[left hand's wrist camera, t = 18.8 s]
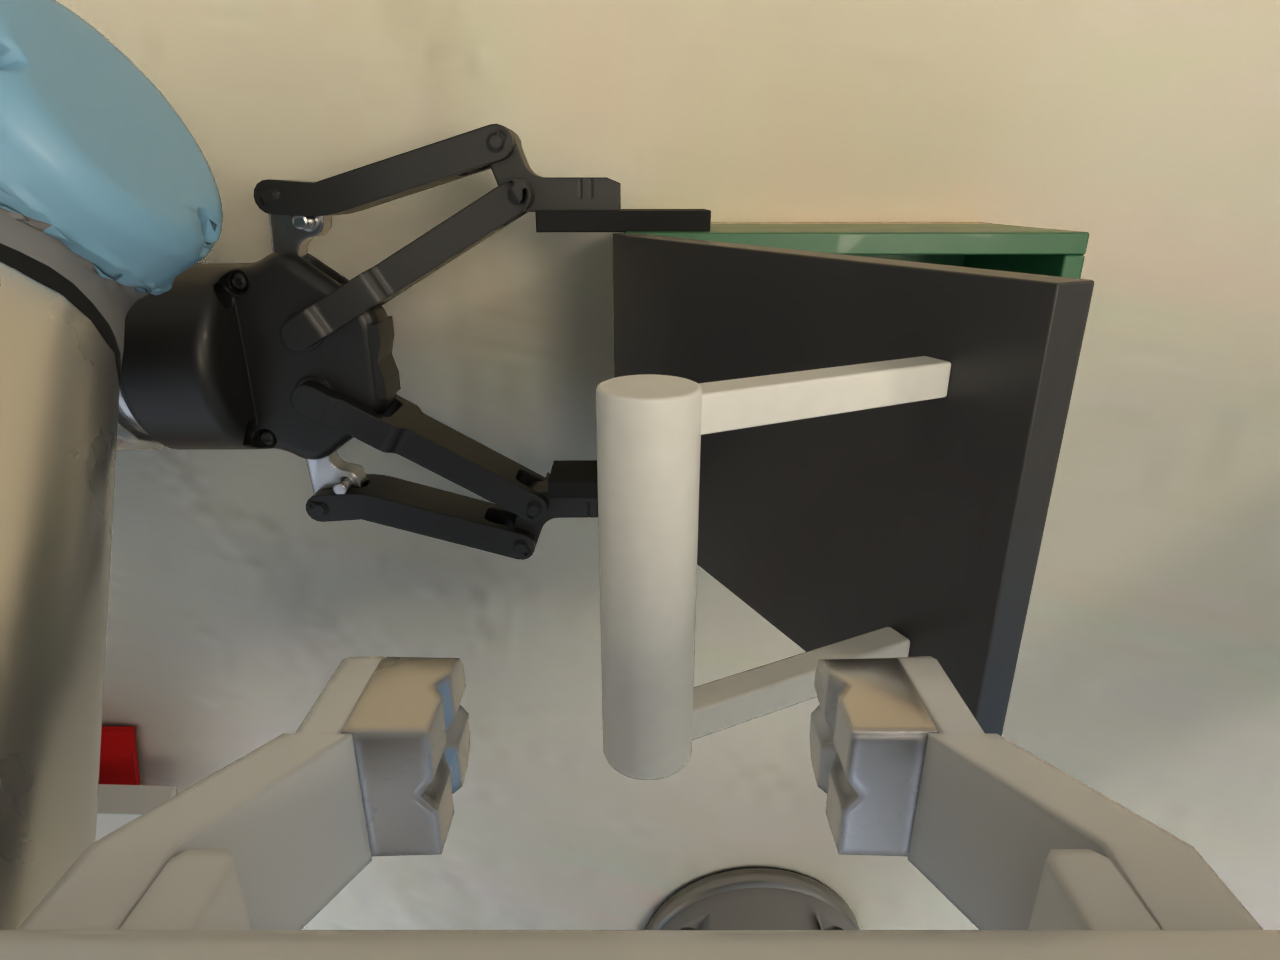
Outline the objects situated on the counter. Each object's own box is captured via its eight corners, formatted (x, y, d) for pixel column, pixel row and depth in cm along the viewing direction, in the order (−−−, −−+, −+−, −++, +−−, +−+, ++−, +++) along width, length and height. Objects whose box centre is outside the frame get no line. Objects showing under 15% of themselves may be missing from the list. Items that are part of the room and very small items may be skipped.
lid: (1096, 280, 13) (670, 312, 9) (996, 765, 16) (661, 915, 13) (636, 233, 27) (404, 239, 24) (637, 495, 31) (435, 532, 27)
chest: (980, 222, 36) (1090, 232, 28) (950, 425, 40) (1039, 491, 31) (626, 222, 36) (624, 232, 27) (627, 426, 40) (626, 492, 31)
